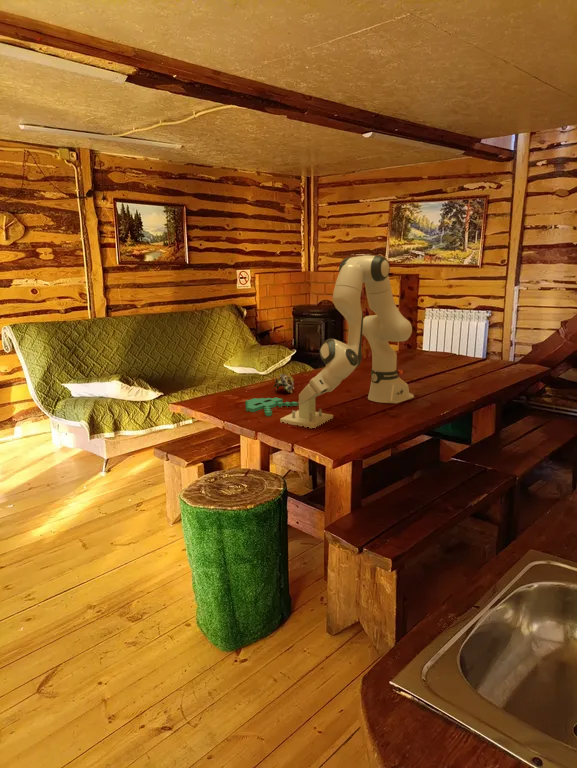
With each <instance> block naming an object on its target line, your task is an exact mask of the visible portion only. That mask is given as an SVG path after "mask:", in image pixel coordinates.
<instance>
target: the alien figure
mask: <svg viewBox="0 0 577 768" xmlns="http://www.w3.org/2000/svg"><path fill="white" fill-rule="evenodd" d="M283 400H284V399H283V398H279V397H276V396H275V397H273V398H271V397H266V398H265V397H260V398H255V397H253V398H251V399H247V400H245V401H244V402H245V412H248V411H250V412H249V413H252V412H254V413H256V411H257V412H259V411H258V410H260V411H262V410H261V409H263V413H265V414H264V416H265V415H266V416H265V417H268V416H269V417H271V415H272V416H273V411H272V410H273V409H274V408H273V407H275V408H277V407H276V406H279V407H278V408H280V407H281V408H283V407H282V406H287V407H286V408H289V407H288V406H290V407H292V406H297V407H299V403H298V401H292V402H290V401H286V402H284V401H283ZM271 408H272V409H271Z"/></svg>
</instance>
